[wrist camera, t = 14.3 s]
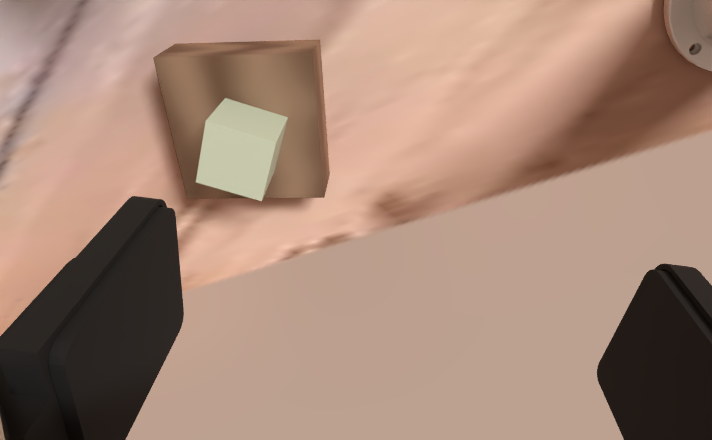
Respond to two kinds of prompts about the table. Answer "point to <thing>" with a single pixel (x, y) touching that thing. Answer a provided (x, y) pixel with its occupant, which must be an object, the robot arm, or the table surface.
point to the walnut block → (255, 88)
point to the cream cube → (240, 149)
